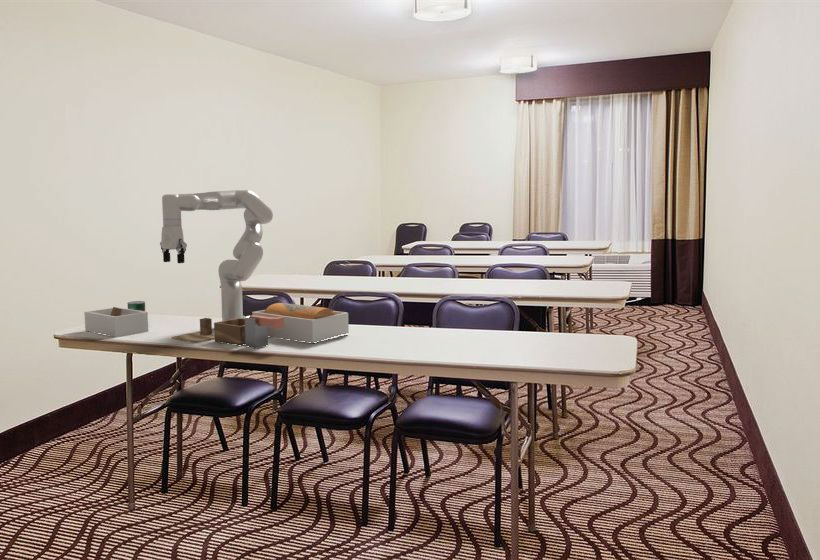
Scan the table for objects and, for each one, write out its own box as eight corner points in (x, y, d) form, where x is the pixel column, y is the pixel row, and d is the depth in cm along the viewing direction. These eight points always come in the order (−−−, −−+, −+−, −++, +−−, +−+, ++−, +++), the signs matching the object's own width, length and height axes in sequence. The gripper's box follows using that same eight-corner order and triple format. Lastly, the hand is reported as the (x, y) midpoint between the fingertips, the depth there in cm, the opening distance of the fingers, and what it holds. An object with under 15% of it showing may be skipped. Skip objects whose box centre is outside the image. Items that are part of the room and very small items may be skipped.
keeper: (258, 343, 281) (257, 315, 279) (268, 345, 277) (267, 316, 276) (245, 346, 275) (244, 317, 274) (255, 348, 272) (255, 319, 270)
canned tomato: (131, 323, 327) (130, 301, 326) (148, 323, 328) (147, 300, 326) (125, 326, 319) (124, 303, 318) (142, 326, 320) (141, 303, 318)
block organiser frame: (117, 325, 320) (116, 307, 319) (148, 331, 307) (147, 312, 306) (85, 331, 307) (84, 311, 306) (115, 337, 294) (114, 317, 293)
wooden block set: (137, 336, 308) (144, 315, 310) (121, 332, 301) (129, 310, 303) (113, 330, 318) (120, 309, 320) (97, 326, 310) (104, 305, 312)
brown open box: (240, 335, 297) (239, 317, 296) (265, 340, 288) (265, 321, 287) (214, 341, 286) (214, 322, 285) (240, 345, 277) (239, 326, 276)
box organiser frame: (289, 326, 319) (289, 305, 318) (348, 335, 299) (348, 312, 298) (252, 334, 300) (252, 312, 299) (312, 344, 280) (312, 320, 279)
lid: (199, 334, 304) (198, 316, 303) (223, 338, 294) (223, 319, 293) (171, 339, 292) (170, 320, 291) (196, 344, 282) (195, 324, 282)
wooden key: (256, 323, 278) (256, 313, 278) (284, 327, 269) (283, 317, 269) (248, 324, 275) (247, 315, 274) (276, 329, 266) (275, 318, 265)
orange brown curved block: (339, 337, 295) (338, 306, 293) (313, 344, 282) (312, 311, 280) (290, 329, 312) (289, 300, 311) (263, 335, 299) (262, 304, 297)
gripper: (152, 223, 294) (154, 262, 296) (177, 223, 285) (179, 264, 287) (167, 222, 300) (169, 260, 303) (192, 223, 291) (193, 262, 293)
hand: (173, 262), depth 295 cm, fingers open, 9 cm apart
